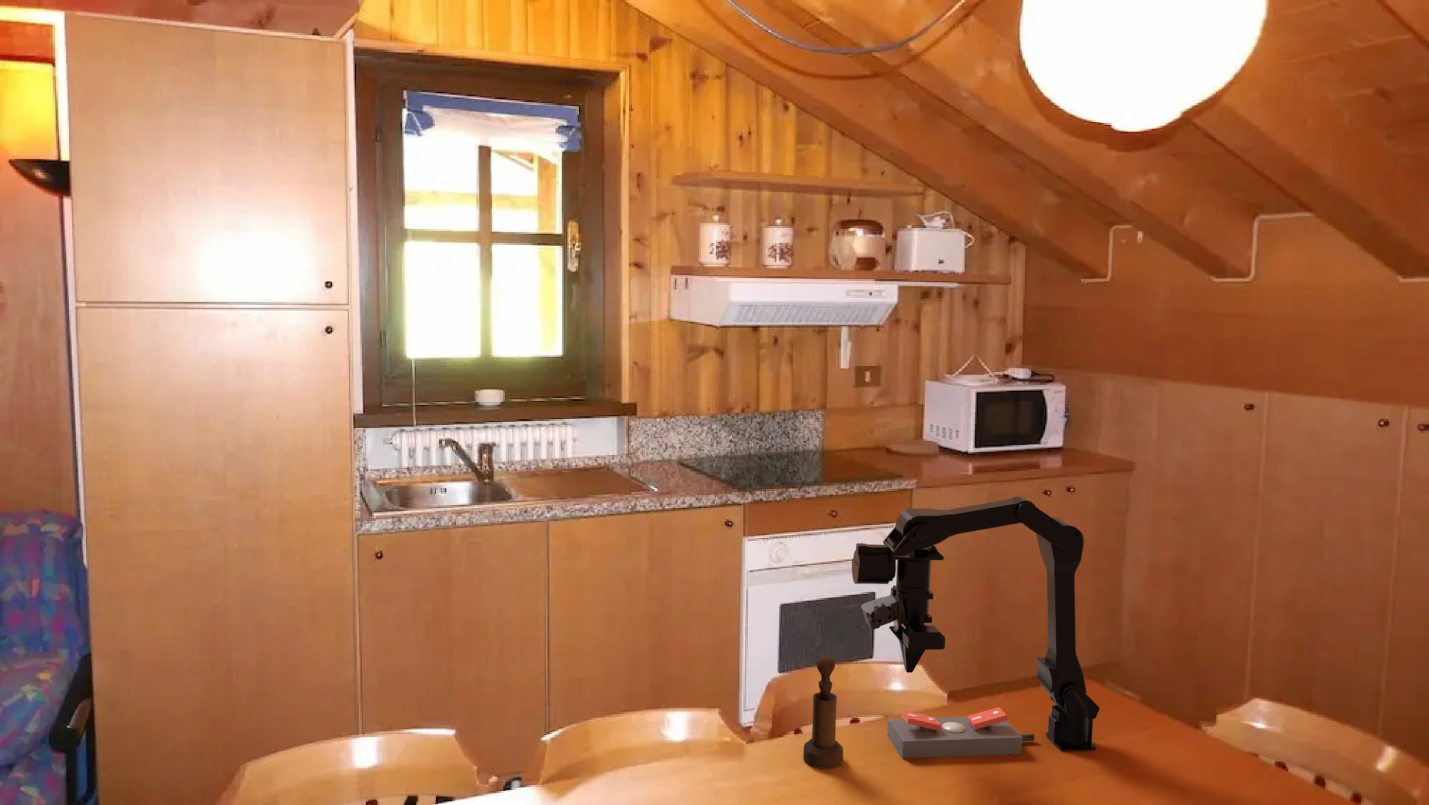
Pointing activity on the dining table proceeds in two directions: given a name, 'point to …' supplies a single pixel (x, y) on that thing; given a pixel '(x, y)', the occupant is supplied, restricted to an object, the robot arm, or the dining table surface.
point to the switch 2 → (987, 718)
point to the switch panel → (955, 739)
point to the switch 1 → (921, 720)
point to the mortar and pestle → (824, 722)
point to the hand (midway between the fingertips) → (908, 672)
